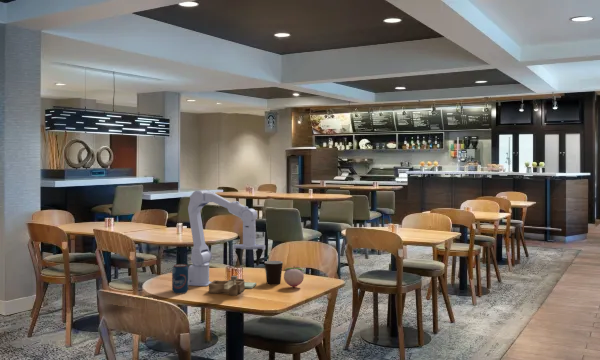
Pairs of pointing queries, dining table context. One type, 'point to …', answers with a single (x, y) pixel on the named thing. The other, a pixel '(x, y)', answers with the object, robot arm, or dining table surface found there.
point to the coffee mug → (273, 272)
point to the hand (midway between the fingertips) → (249, 265)
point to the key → (229, 284)
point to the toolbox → (234, 290)
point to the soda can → (180, 278)
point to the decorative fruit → (293, 276)
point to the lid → (247, 284)
